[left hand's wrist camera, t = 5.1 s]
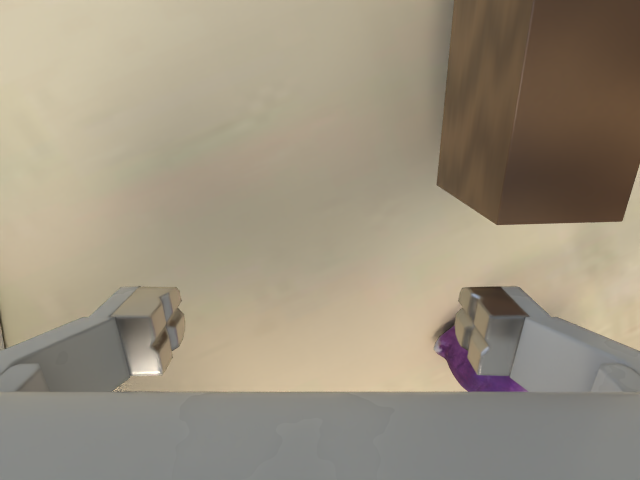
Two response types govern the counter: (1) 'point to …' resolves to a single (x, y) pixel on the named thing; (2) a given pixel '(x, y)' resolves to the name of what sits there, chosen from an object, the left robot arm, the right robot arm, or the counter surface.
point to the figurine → (470, 368)
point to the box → (542, 109)
